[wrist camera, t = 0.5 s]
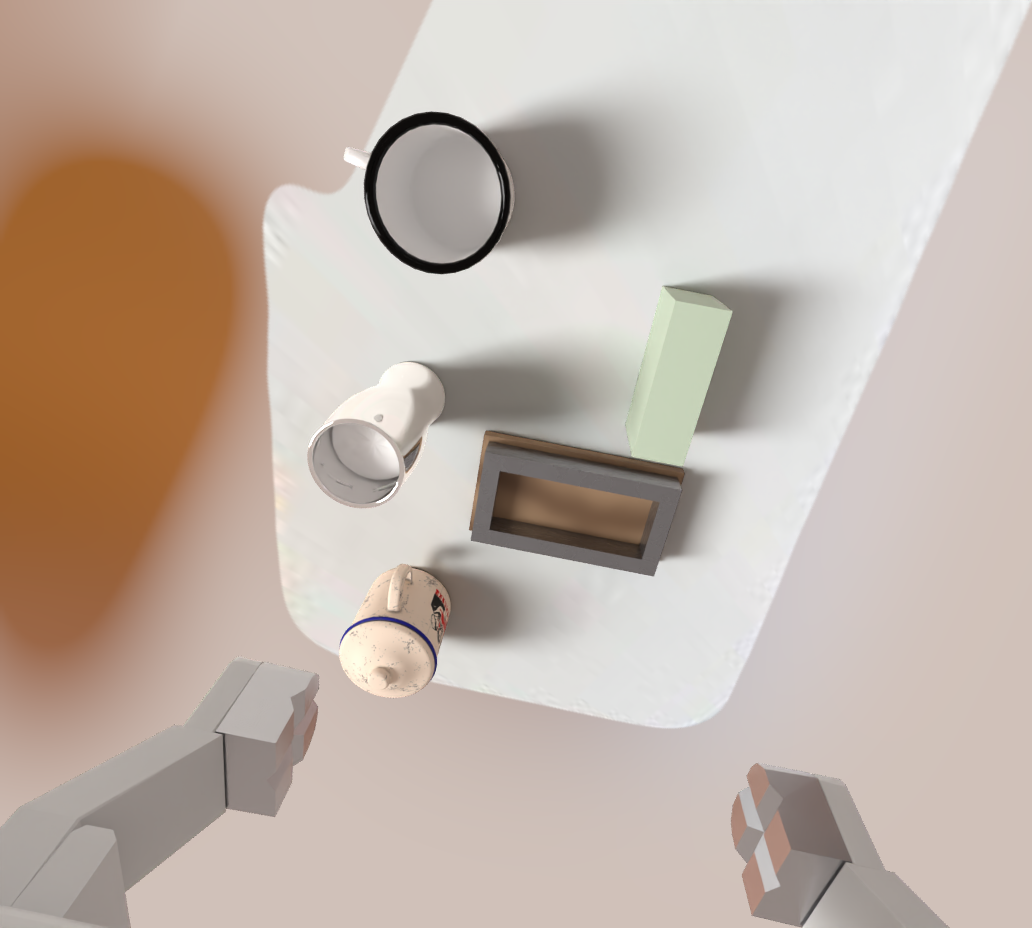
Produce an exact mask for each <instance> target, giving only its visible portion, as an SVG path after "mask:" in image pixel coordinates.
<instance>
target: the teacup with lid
mask: <svg viewBox="0 0 1032 928" xmlns="http://www.w3.org/2000/svg"><path fill="white" fill-rule="evenodd" d="M450 610H451V602H450V598H449V595H448V593H447V591H446V589H445V588H444V586H443V585H442V584H441V583H440V582H439V581H438V580H437V579H436V578H435V577H433V576H432V575H430V574H428V573H426V572H424V571H421V570H418V569H414V568H411V566H409V565H406V564H400V565H399V566H398V567H397V568H396V569H392V570H389V571H387V572H385V573H383V574H382V575H380V576H379V577H378V578H377V579H376V580H375V581H374V583H373V584H372V586H371V588H370V590H369V592H368V594H367V596H366V598H365V600H364V602H363V604H362V606H361V607H360V609H359V611H358V613H357V615H356V617H355V619H354V621H353V623H352V625H351V626H350V627H349V628H348V629H347V630H346V632H345V633H344V635H343V637H342V639H341V642H340V647H339V657H340V662H341V665H342V667H343V669H344V671H345V673H346V674H347V676H348V677H349V678H350V679H351V680H352V681H353V682H354V683H355V684H356V685H357V686H359V687H360V688H362V689H364V690H365V691H367V692H369V693H371V694H375V695H378V696H382V697H388V698H399V697H406V696H409V695H412V694H414V693H416V692H418V691H420V690H421V689H423V688H424V687H425V686H426V685H427V684H428V683H429V682H430V681H431V679H432V678H433V676H434V674H435V671H436V667H437V655H438V652H439V649H440V645H441V642H442V638H443V635H444V632H445V628H446V625H447V622H448V618H449V615H450Z"/></svg>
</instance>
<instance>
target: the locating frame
mask: <svg viewBox="0 0 1032 928" xmlns="http://www.w3.org/2000/svg"><path fill="white" fill-rule="evenodd" d="M684 474H685V473H684V470H683V469H682V468H676V467H671V466H666V465H661V464H656V463H651V462H646V461H640V460H635V459H630V458H625V457H620V456H615V455H609V454H604V453H599V452H594V451H589V450H584V449H578V448H573V447H568V446H563V445H558V444H553V443H547V442H542V441H537V440H532V439H527V438H522V437H516V436H511V435H506V434H501V433H496V432H491V431H486V432H485V434H484V440H483V446H482V452H481V459H480V465H479V471H478V477H477V484H476V490H475V496H474V502H473V509H472V515H471V521H470V527H469V530H471V531H472V536H471V541H476V542H481V543H486V544H491V545H496V546H501V547H506V548H511V549H516V550H522V551H527V552H532V553H537V554H542V555H547V556H552V557H557V558H562V559H568V560H573V561H578V562H583V563H588V564H593V565H598V566H603V567H608V568H613V569H619V570H624V571H629V572H634V573H639V574H644V575H649V576H654V574H655V571H656V568H657V565H658V562H659V559H660V556H661V553H662V550H663V547H664V544H665V541H666V538H667V535H668V532H669V529H670V526H671V523H672V520H673V517H674V513H675V510H676V507H677V504H678V501H679V498H680V495H681V492H682V489H681V484H682V480H683V477H684Z"/></svg>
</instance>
